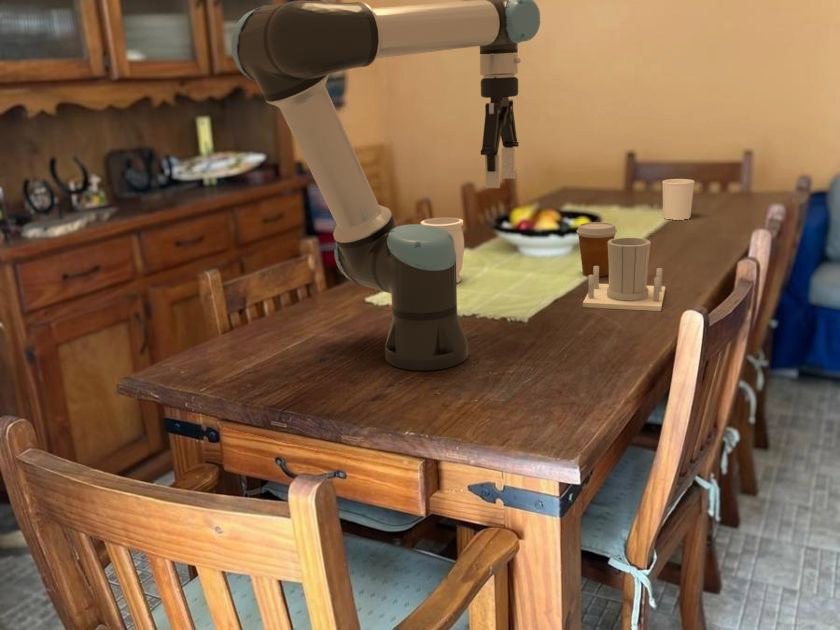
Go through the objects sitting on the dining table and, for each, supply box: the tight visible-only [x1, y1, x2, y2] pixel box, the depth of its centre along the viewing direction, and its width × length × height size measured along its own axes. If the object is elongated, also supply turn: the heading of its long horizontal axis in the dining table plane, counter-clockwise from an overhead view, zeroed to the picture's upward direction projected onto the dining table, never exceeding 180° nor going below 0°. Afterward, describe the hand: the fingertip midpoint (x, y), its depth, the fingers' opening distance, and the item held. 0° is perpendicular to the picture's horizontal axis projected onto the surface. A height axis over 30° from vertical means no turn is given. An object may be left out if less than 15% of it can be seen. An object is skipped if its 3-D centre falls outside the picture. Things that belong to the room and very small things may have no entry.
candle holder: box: [661, 178, 695, 221], centre depth 260 cm, size 10×10×12 cm
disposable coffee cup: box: [576, 221, 618, 278], centre depth 197 cm, size 10×10×12 cm
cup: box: [607, 237, 652, 301], centre depth 175 cm, size 10×9×12 cm
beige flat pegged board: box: [582, 266, 666, 312], centre depth 176 cm, size 16×16×6 cm
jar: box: [420, 217, 465, 284], centre depth 197 cm, size 11×10×15 cm
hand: (500, 183), depth 169 cm, fingers open, 13 cm apart
